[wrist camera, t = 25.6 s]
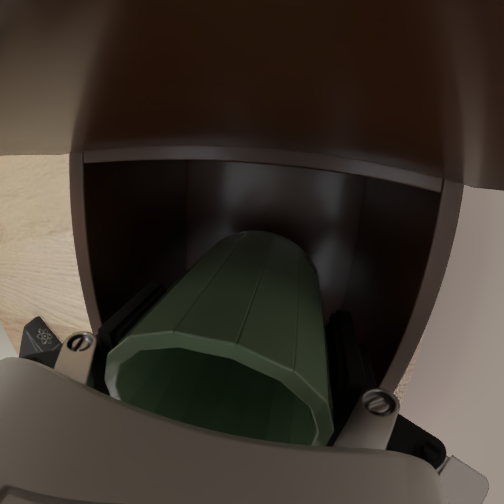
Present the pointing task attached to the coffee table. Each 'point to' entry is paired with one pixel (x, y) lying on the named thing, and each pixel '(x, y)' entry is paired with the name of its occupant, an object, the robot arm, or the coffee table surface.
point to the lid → (260, 79)
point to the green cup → (235, 345)
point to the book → (38, 338)
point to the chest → (269, 230)
